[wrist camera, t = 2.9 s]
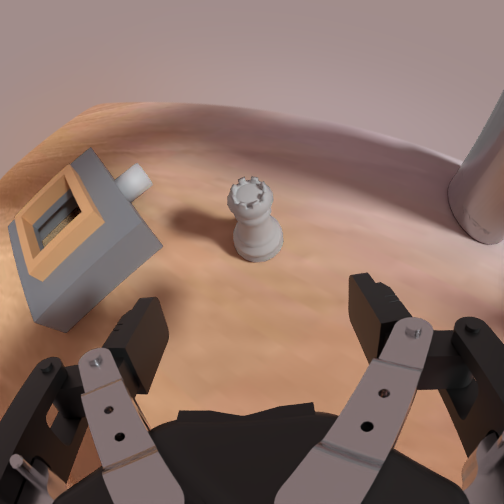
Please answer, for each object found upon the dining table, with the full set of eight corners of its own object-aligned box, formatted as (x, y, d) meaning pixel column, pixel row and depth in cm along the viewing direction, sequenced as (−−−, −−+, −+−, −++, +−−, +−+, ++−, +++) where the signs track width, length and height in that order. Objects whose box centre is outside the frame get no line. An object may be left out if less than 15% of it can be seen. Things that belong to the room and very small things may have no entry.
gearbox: (128, 157, 34) (104, 119, 28) (187, 226, 29) (161, 185, 22) (32, 244, 31) (-3, 218, 24) (66, 332, 26) (19, 317, 19)
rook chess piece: (251, 212, 29) (239, 157, 21) (292, 232, 27) (293, 179, 20) (225, 250, 27) (203, 202, 20) (267, 273, 26) (259, 230, 19)
